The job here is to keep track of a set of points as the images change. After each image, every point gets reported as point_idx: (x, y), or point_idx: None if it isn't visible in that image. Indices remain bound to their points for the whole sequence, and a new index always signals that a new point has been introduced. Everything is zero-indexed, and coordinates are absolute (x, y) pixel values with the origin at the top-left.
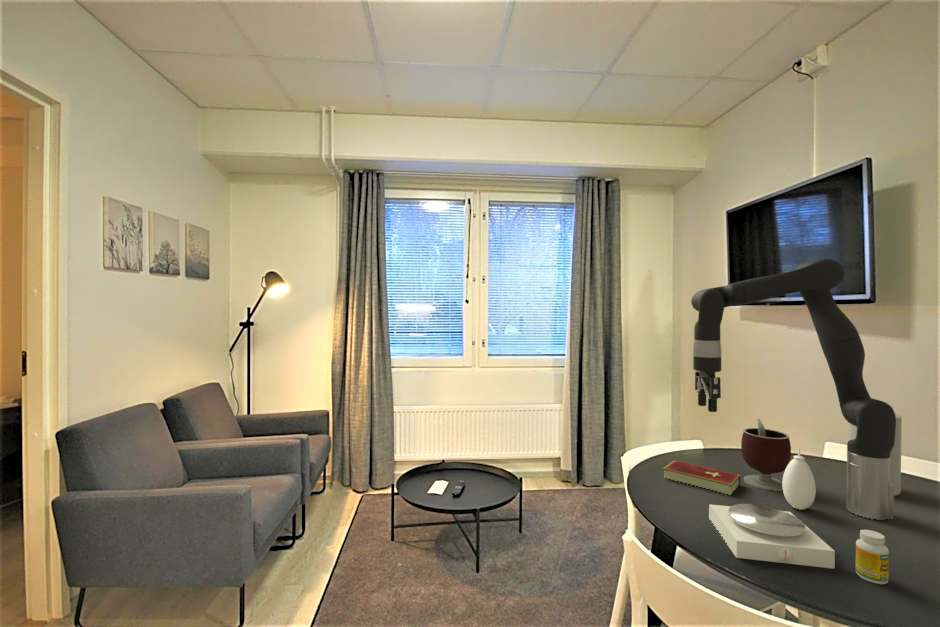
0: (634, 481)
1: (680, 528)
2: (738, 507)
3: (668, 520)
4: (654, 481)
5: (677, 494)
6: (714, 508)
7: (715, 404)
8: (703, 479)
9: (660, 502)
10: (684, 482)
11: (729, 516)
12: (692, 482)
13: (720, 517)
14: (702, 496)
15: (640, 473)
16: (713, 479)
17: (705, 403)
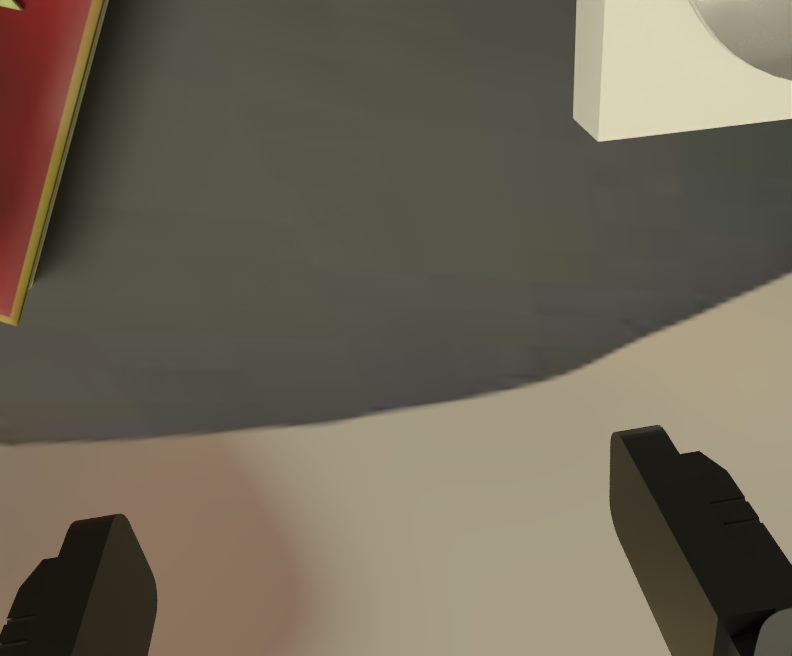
0: (177, 425)
1: (699, 261)
2: (743, 6)
3: (626, 301)
4: (120, 336)
5: (278, 235)
6: (652, 122)
7: (764, 546)
8: (73, 80)
9: (426, 321)
10: (59, 179)
11: None
12: (68, 137)
13: (767, 114)
14: (249, 97)
15: (20, 400)
16: (69, 13)
17: (112, 549)
